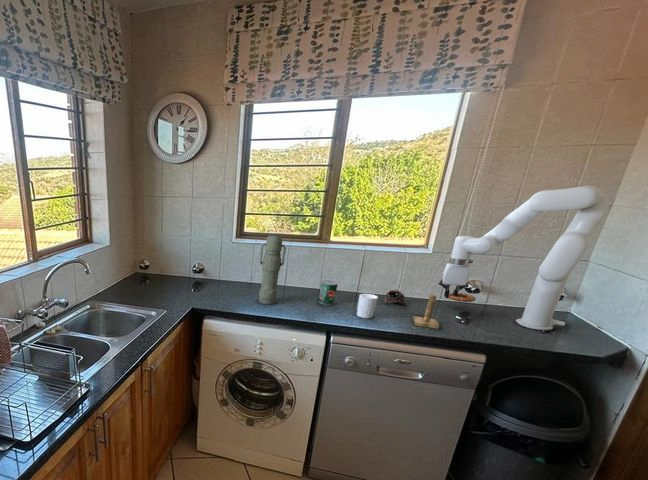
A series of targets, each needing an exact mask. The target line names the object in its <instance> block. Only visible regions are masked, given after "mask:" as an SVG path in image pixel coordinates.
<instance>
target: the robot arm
mask: <svg viewBox="0 0 648 480" xmlns="http://www.w3.org/2000/svg"><path fill="white" fill-rule="evenodd" d="M572 210H576V213H575V215H574V217H573V219H572V220H571V222H570V223H569V225H568V226H567V228H566V229H565V230H564V232H563V234H562V235H560V237H559V238H558V239H557V240H556V241H555V243H554V245H553V246H552V247H551V249H550V250H549V252H548V254H547V255H546V256H545V258H544V260H543V261H542V263H541V264H540V266H539V268H538V273H537V276H536V278H535V281H534V284H533V285H532V289H531V291H530V294H529V297H528V299H527V302H526V305H525V308H524V311H523V314H522V316H521V317H520V318H517V319H515V322H516V323H517V324H518V325H519V326H521V327H524V328H528V329H532V330H538V331H552V330H553V329H554V326H559V327H564V326H565V325H566V322H565V321H561V320H559V319H555V318H553V317H554V313H555V312H556V309H557V306H558V304H559V301H560V299H561V296H562V294H563V292H564V289H565V287H566V284H567V282H568V279H569V277H570V274H571V273H572V271H573V270H574V268H575V267H576V266H577V265H578V263H579V262H580V260H581V259H582V257H583V256H584V255H585V253H586V252H587V250H588V248H589V245H590V242H591V240H592V239H593V237H594V236H595V234H596V233H597V232H598V230H599V228H600V227H601V225H602V223H603V222H604V220H605V218H606V217H607V214H608V212H609V200H608V197H607V196H606V195H605V193H604V192H603V191H602V190H601V189H599V188H597V187H596V186H594V185H582V186H577V187H568V188H560V189H559V188H558V189H552V190H551V189H544V190H540V191H537V192H536V193H534V194H533V195H532V196H531V197H530V198H529V199H527V200H526V201H524V202H522V204H521V205H519V206H518V207H517V208H515V209H514V210H513V211H512V212H510V213H508V215H506V216H505V217H504V218H503V219H502V221H500V222H499V223H498V224H497V225H496V226H495V227H493V228H492V229H491V230H490V231H488V232H487V233H485V234H484V235H483V236H481V237H473V236H472V235H471V236H470V235H458V236H456V238H455V239H454V243H453V247H452V250H451V255H450V259H449V262H448V263H446V265H445V267H444V269H443V272H442V275H441V279H440V280H439V282H437V285H439V286H441V287H443V289H444V298H445V299H449V298H448V296H449V294H450V293H451V290H450V287H451V286H455V289H454V290H453V292H452V293H453V296H456V297H457V294H458V293H459V292H460V291H461V290H463V289H466V288H469V287H470V285H469V277H470V270H471V269H470V267H471V266H470V264H473V262H474V260H473V259H471V256H472V254H476V255H477V254H478V255H486V254H488V253H490V252H491V251H493V250H494V249H495V248H497V247H498V246H499V245H501V244H503V243H504V242H505V241H506V240H508V239H510V238H511V237H512V236H514V235H516V234H517V233H519V232H521V231H523V230H524V229H525V228H527V227H528V226H529V225H531V224H532V223H533V222H536V220H538V219H539V218H541V217H542V216H543V215H545V214H546V213H548V212H561V211H572Z"/></svg>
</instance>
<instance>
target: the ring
mask: <svg viewBox="0 0 648 480" xmlns="http://www.w3.org/2000/svg"><path fill="white" fill-rule="evenodd" d="M447 299H449V300H452V301H455V302H461V303H462V302H463V303H472V302H474V301H476V300H477V298H476V297H475V296H474V295H472V294H469V293H463V292H458V294H457V297H456V296H453V292H449V296H448V298H447Z"/></svg>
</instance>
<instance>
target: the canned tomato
mask: <svg viewBox="0 0 648 480" xmlns="http://www.w3.org/2000/svg"><path fill="white" fill-rule="evenodd" d="M338 285H339V282H337V281H333V280H321V282H320V288H319V294H318V300H317V303H318V304H321V305H323V306H324V305H325V306H333V305H335V301H336V295H337V291H338Z"/></svg>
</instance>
